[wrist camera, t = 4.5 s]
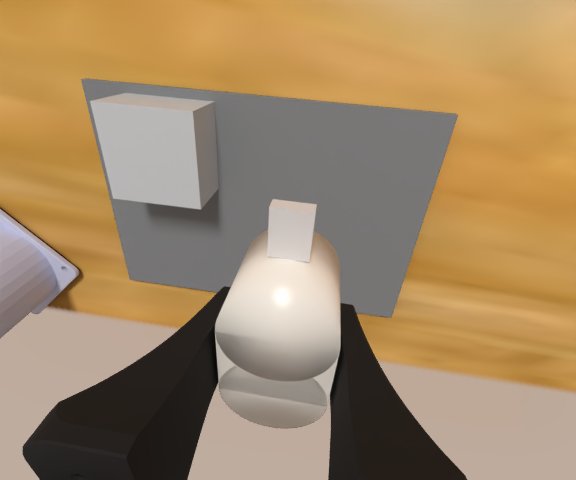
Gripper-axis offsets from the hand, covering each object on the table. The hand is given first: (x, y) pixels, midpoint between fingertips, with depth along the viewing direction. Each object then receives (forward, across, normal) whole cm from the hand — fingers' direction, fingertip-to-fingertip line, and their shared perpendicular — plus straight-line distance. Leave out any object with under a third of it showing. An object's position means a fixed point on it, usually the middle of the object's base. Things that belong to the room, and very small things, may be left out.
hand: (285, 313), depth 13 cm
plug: (+1, 0, 0) cm, 1 cm away
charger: (+8, +8, -4) cm, 12 cm away
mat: (+9, +3, 0) cm, 9 cm away
